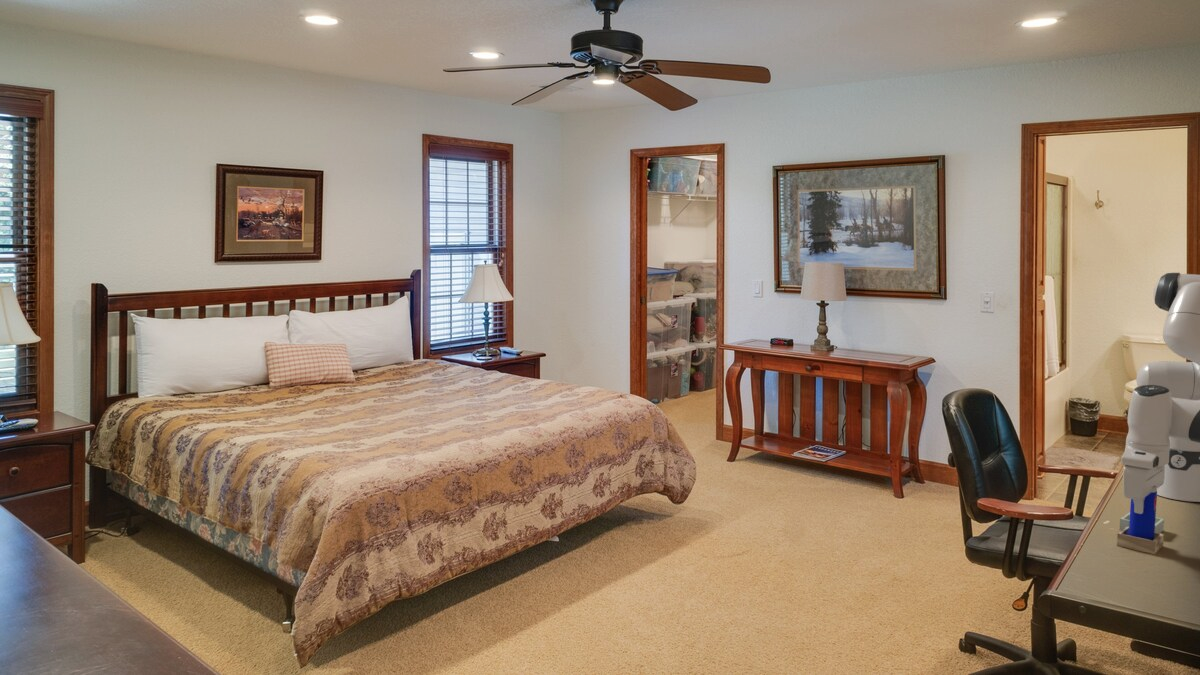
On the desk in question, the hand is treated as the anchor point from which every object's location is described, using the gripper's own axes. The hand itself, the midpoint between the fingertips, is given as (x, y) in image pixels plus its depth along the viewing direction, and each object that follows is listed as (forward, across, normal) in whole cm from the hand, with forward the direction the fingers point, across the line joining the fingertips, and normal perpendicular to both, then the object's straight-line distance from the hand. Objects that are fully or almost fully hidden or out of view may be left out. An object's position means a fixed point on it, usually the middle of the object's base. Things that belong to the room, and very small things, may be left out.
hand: (1143, 509), depth 203 cm
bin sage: (+9, -13, -3) cm, 16 cm away
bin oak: (+9, 0, 0) cm, 9 cm away
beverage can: (+9, 0, 0) cm, 9 cm away
